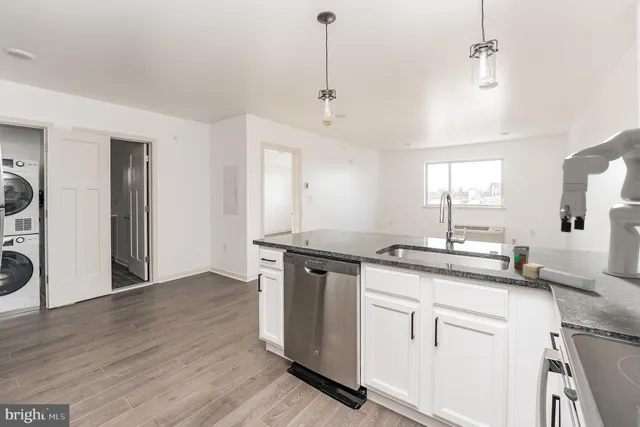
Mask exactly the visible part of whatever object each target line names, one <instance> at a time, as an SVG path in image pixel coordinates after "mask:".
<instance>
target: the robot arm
mask: <svg viewBox="0 0 640 427" xmlns="http://www.w3.org/2000/svg"><path fill="white" fill-rule="evenodd" d="M620 158H622V160H623V162H624V164H625V167H626V174H625V177H624V181H623V184H622V187H621V190H620V198H621V199H622V200H623V201H625V202H629V203H618V204H615V205H612V206H611V208H610V210H609V213H608V217H609V223H610V235H609V247H608V248H609V249H608V258H607V267H606V268H603V269H602V272H603V273H604V274H606V275H610V276H615V277H619V278H627V279H640V272H638V269H639V257H640V232H639V231H638V229H637V227H640V127H638V128H629V129H624V130H621V131H618V132H617V133H615V134H614V135H613V136H611V137H609V138H608V139H606V140H605V141H603V142H601V143H597V144H594V145H592V146H590V147H586V148H583V149H581V150H578V151H577V152H573V153H572V154H571V155H569V156H568V157H566V158H565V159H564V160H563V164H562V167H561V169H562V171H563V173H562V175H563V176H562V193H561V198H560V202H559V204H560V205H559V217H560V222H561V224H560V232H561V233H562V232H563V233H569V234H570V233H572V222H571V221H572V218H575V219H574V222H573V225H574V226H573V229H574V230H577V231H578V230H579V231H583V230H584V231H585V221H586V216H587V211H588V210H587V196H586V195H587V193H586V192H588V183H589V182H588V181H589V176H592V175H593V176H594V175H600V174H604V173H605V172H606V171H608V169H609V167H610V162H612V161H615V160H619V159H620ZM630 202H631V203H630Z"/></svg>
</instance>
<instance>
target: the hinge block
mask: <svg viewBox="0 0 640 427" xmlns="http://www.w3.org/2000/svg"><path fill="white" fill-rule="evenodd" d="M541 268H545V265H543V264H537V263H528V264H524V265H523V271H522V274H521V275H522V276H521V277H525V276H526V278H529V277H530V278H529V279H533V278H534V279H533V280H537V279H540V278H539V273H540V269H541ZM536 278H537V279H536Z"/></svg>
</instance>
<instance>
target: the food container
mask: <svg viewBox="0 0 640 427" xmlns="http://www.w3.org/2000/svg"><path fill="white" fill-rule="evenodd" d="M512 252H513V263H514V264H513V267H514V269H515V270H518V271H522V272H523V265H524V264H529V258H530V257H529V256H530V255H529V254H530V246H527V245H514V246H513V248H512Z"/></svg>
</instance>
